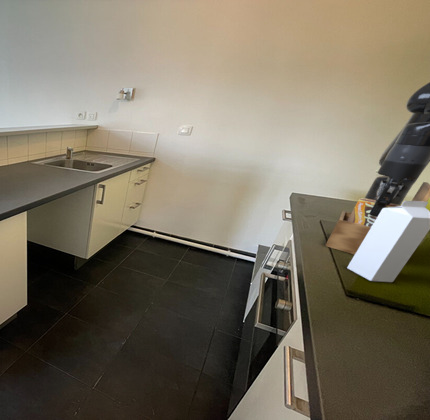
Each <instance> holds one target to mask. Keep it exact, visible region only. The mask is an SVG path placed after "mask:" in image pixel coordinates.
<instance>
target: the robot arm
mask: <svg viewBox="0 0 430 420" xmlns="http://www.w3.org/2000/svg"><path fill="white" fill-rule="evenodd" d="M405 108H406V110H407V112H409V113H411V115H410V117H409V118H408V120H407V122H406V123H405V124H404V126H403V127H402V128H401V129H400V130H399V132H398V133H397V134H396V136H395V137H394V138H393V139H392V141H390V143H389V144H388V145H387V147H386V148H385V149H384V151H383V152H382V154H381V155H380V157H379V160H378V165H379V166H380V167H379V169H378V171H377V174H378V175H379V176H376V177H375V179H374V180H373V181H372V184H370V187H369V189H368V191H367V193H366V194H365V196H364V198H366V199H372V200H376V201H375V204H374V206H373V208H372V210H371V211H370V213H369V214H370V215H372V216H376V217H378V215H379V214H380V212H381V210H382V209H383V208H385V207H386V206H387V205H389V204H390V203H392V204H397V205H402V203H403V202H404V201H405V199H406V197H407V195H408V193H409V192H410V190H411V189H412V186H413V185H414V184H415V183H416V182H417V181H418V179H419V178H420V176H421V174H422V173H423V172H424V170H425V169H426V167H427V166H428V165H429V163H430V81H429V82H428V83H425V84H424V85H423V86H421V87H419V88H418V89H417V90H416V91H414V93H412V95H410V96H409V98H408V99H407V101H406V104H405Z"/></svg>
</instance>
